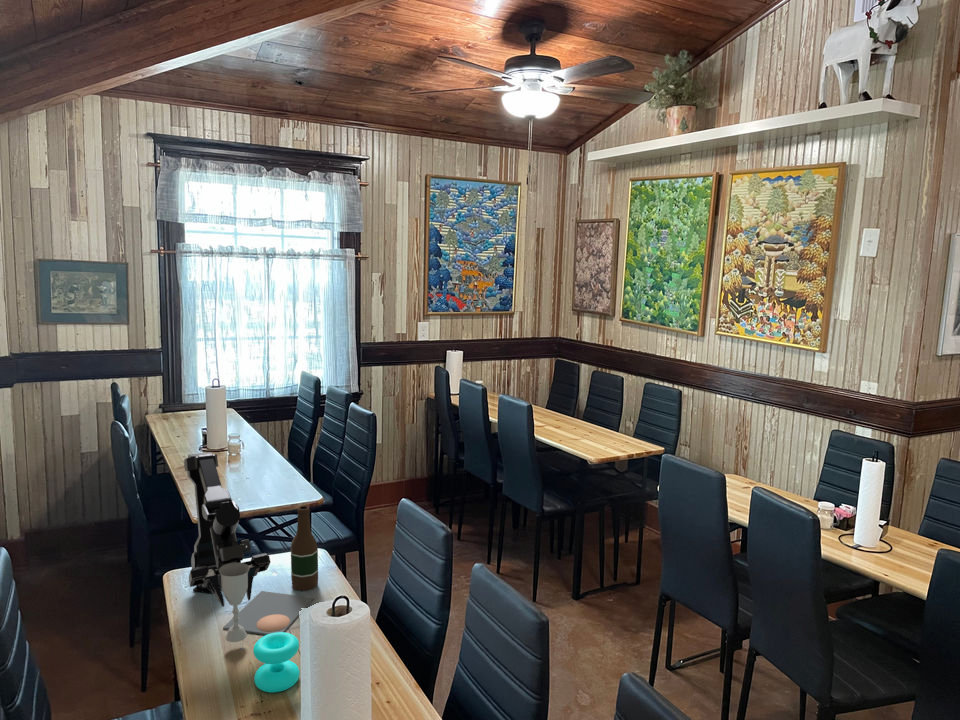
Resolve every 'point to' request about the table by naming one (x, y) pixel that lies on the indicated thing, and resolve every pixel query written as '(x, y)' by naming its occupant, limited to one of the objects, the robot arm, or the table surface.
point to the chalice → (234, 595)
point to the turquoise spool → (276, 662)
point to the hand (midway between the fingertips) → (236, 603)
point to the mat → (270, 612)
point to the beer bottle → (304, 554)
